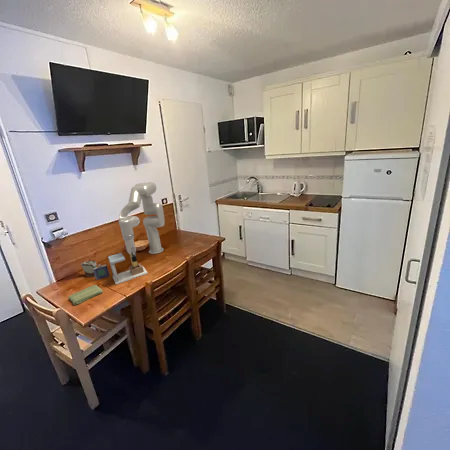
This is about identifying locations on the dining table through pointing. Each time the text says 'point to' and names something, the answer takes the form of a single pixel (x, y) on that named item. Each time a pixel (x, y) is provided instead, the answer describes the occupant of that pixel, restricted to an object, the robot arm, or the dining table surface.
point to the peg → (133, 262)
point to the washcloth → (85, 294)
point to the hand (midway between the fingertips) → (134, 260)
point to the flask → (101, 272)
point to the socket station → (125, 275)
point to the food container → (89, 267)
